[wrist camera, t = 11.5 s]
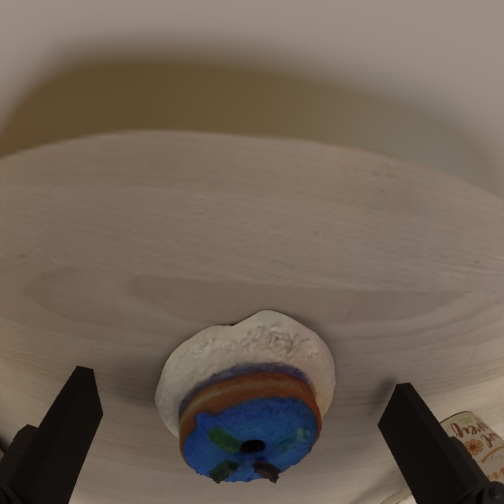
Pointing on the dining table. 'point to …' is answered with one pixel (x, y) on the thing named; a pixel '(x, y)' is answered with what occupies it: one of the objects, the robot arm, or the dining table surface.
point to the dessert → (247, 396)
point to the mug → (470, 448)
